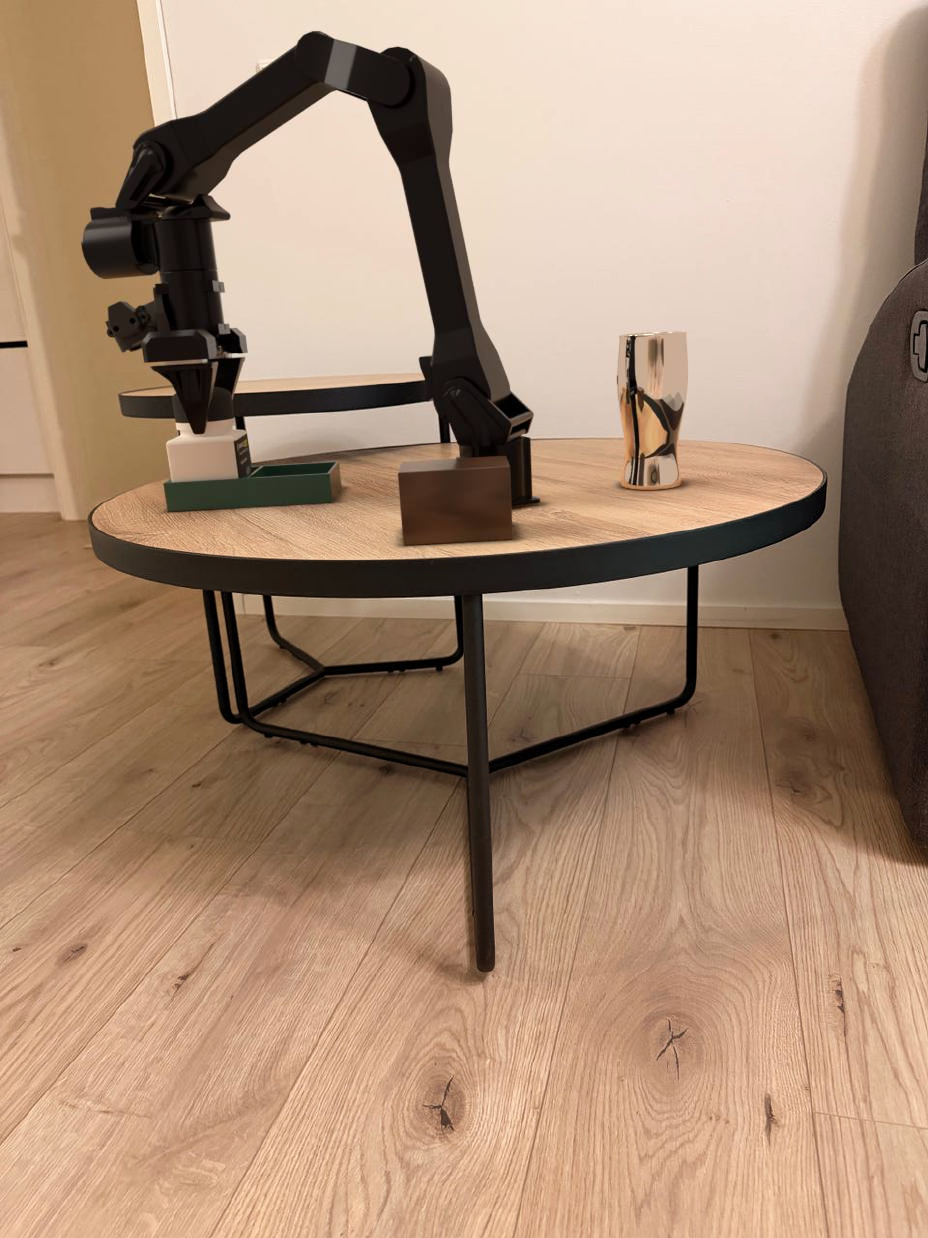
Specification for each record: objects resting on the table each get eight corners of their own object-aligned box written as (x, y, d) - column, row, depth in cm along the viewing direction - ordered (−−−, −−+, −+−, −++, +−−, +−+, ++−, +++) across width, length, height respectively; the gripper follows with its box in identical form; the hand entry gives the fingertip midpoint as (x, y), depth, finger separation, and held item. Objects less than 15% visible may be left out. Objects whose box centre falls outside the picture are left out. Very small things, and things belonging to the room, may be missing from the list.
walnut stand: (508, 523, 81) (506, 455, 79) (512, 539, 75) (510, 466, 73) (407, 529, 81) (401, 461, 79) (403, 545, 75) (397, 472, 73)
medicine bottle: (243, 505, 96) (228, 388, 92) (175, 510, 96) (157, 392, 92) (255, 493, 103) (241, 383, 99) (191, 497, 103) (174, 387, 99)
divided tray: (341, 487, 104) (339, 461, 103) (332, 502, 96) (329, 473, 95) (189, 496, 104) (185, 470, 103) (167, 511, 96) (163, 483, 95)
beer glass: (609, 481, 98) (608, 334, 93) (672, 476, 99) (675, 330, 94) (627, 492, 91) (627, 335, 87) (695, 487, 92) (699, 331, 87)
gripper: (138, 280, 102) (161, 424, 106) (72, 272, 84) (103, 444, 89) (239, 274, 102) (257, 418, 106) (194, 265, 84) (218, 438, 89)
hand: (210, 428), depth 97 cm, fingers open, 9 cm apart
